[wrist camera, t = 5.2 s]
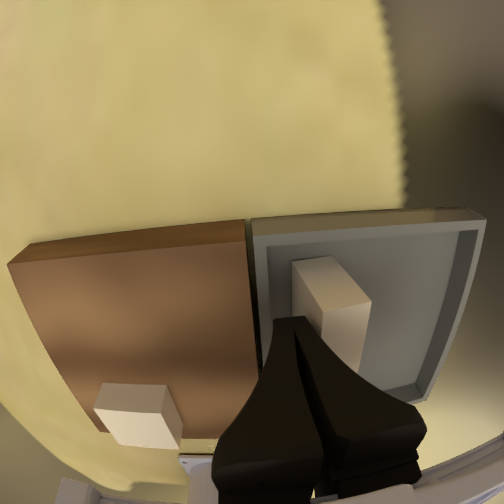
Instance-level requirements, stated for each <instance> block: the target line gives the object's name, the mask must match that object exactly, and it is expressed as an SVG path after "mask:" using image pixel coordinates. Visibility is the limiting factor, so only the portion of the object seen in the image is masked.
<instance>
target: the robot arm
mask: <svg viewBox="0 0 504 504" xmlns="http://www.w3.org/2000/svg"><path fill="white" fill-rule="evenodd" d="M426 432H427V427H426V425H425V423H424V420H423V418H422V417H421V415H420V413H419V412H418V410H417V409H416V407H415V406H413V405H410V404H408V403H406V402H404V401H401V400H399V399H397V398H395V397H393V396H391V395H389V394H387V393H385V392H383V391H382V390H380V389H378V388H377V387H375V386H374V385H372V384H371V383H369V382H368V381H366V380H365V379H363V378H362V377H361V376H360V375H358V374H357V373H356V372H355V371H353V370H352V369H351V368H350V367H349V366H348V365H346V364H345V363H344V362H343V361H342V360H341V359H340V358H339V357H338V356H337V355H336V354H335V353H334V352H333V351H332V350H331V349H330V347H329V346H328V345H327V344H326V343H325V342H324V341H323V339H322V338H321V337H320V336H319V334H318V333H317V332H316V330H315V329H314V328H313V326H312V325H311V324H310V322H309V321H308V319H307V317H305V316H304V315H303V316H293V317H283V318H275V319H274V320H273V333H272V340H271V344H270V348H269V352H268V355H267V358H266V361H265V364H264V367H263V370H262V372H261V375H260V377H259V379H258V381H257V383H256V385H255V387H254V389H253V391H252V393H251V395H250V397H249V398H248V400H247V402H246V403H245V405H244V406H243V408H242V409H241V411H240V412H239V414H238V415H237V416H236V418H235V419H234V420H233V422H232V423H231V424H230V425H229V427H228V428H227V429H226V430H225V431H224V432H223V434H222V435H221V436H220V438H219V441H218V443H217V446H216V448H215V451H214V454H213V455H179V456H178V461H179V462H180V464H181V465H182V467H183V468H184V470H185V472H186V473H187V475H188V476H189V491H188V504H482V503H484V502H485V501H487V500H489V499H491V498H492V497H494V496H496V495H497V494H498V493H500V492H502V491H503V490H504V431H503V433H502V434H501V435H499V436H497V437H495V438H493V439H492V440H490V441H488V442H486V443H484V444H482V445H480V446H478V447H476V448H474V449H472V450H470V451H467V452H465V453H463V454H461V455H459V456H456V457H454V458H452V459H450V460H447V461H445V462H442V463H440V464H437V465H435V466H432V467H430V468H427V469H424V470H422V471H420V468H419V466H418V463H417V460H418V458H419V456H418V453H417V450H416V449H417V447H418V446H419V444H420V443H421V441H422V440H423V438H424V436H425V434H426ZM313 490H314V491H315V498H311V497H312V493H313ZM55 504H178V503H165V502H156V501H148V500H141V499H134V498H128V497H122V496H117V495H111V494H106V493H102V492H100V491H99V490H98V489H97V488H96V487H94V486H92V485H90V484H88V483H85V482H81V481H77V480H74V479H70V478H66V477H63V478H62V480H61V484H60V487H59V491H58V494H57V498H56V501H55Z"/></svg>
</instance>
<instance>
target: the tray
mask: <svg viewBox="0 0 504 504" xmlns="http://www.w3.org/2000/svg"><path fill="white" fill-rule="evenodd" d="M486 221H487V220H486V219H485V218H483V217H482V216H480V215H478V214H477V213H475V212H473V211H472V210H470V209H468V208H467V207H436V208H411V209H389V210H369V211H352V212H336V213H320V214H306V215H292V216H279V217H267V218H255V219H251V226H252V238H253V250H254V263H255V275H256V287H257V299H258V311H259V324H260V336H261V348H262V360H263V367H264V364H265V361H266V358H267V355H268V352H269V348H270V344H271V340H272V333H273V320H274V319H275V318H283V317H292V261H299V260H305V259H312V258H318V257H325V256H331V255H332V256H333V257H334V258H335V260H336V261H337V262H338V263H339V264H340V265H341V266H342V267H343V269H344V270H345V271H346V272H347V273H348V274H349V275H350V277H351V278H352V279H353V280H354V281H355V282H356V284H357V285H358V286H359V287H360V288H361V289H362V291H363V292H364V293H365V294H366V295H367V296H368V298H369V299H370V300H371V301H372V303H371V309H370V315H369V320H368V326H367V331H366V336H365V341H364V346H363V351H362V356H361V360H360V365H359V369H358V373H357V374H358V375H360V376H361V377H362V378H363V379H365V380H366V381H368V382H369V383H371V384H372V385H374V386H375V387H377V388H378V389H380V390H382V391H383V392H385V393H387V394H389V395H391V396H393V397H395V398H397V399H399V400H401V401H404V402H406V403H408V404H410V405H412V404H415V403H419V402H422V401H425V400H427V398H428V396H429V394H430V392H431V390H432V388H433V386H434V384H435V382H436V379H437V377H438V375H439V373H440V370H441V368H442V366H443V364H444V361H445V359H446V356H447V354H448V352H449V349H450V347H451V344H452V342H453V339H454V336H455V334H456V331H457V328H458V325H459V323H460V320H461V317H462V314H463V311H464V308H465V305H466V302H467V298H468V295H469V292H470V288H471V285H472V281H473V278H474V274H475V270H476V267H477V263H478V259H479V254H480V250H481V246H482V241H483V236H484V231H485V226H486Z"/></svg>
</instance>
